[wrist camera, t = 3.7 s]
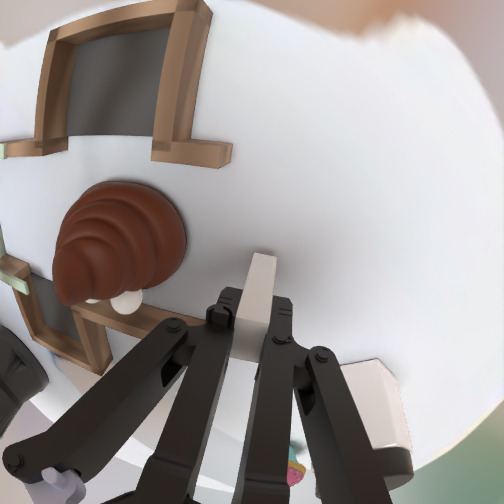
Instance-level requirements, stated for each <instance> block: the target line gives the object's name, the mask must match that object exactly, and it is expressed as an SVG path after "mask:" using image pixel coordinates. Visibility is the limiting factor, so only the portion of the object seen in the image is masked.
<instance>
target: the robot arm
mask: <svg viewBox="0 0 504 504" xmlns="http://www.w3.org/2000/svg"><path fill="white" fill-rule="evenodd" d="M276 263H277V257H275V256H270V255H265V254H260V253H255V252H254V255H253V258H252V262H251V265H250V269H249V272H248V276H247V279H246V283H245V286H244V290H241V289H236V288H232V287H226V288H225V289H223V290H222V291H221V293H220V296H219V298H218V301H217V303H216V304H215V305H212V306H210V307H208V309H207V310H206V323H205V324H203V325H199V326H188V325H187V323H186V321H184V320H183V319H181V318H177V317H170V318H166V319H164V320H163V321H161V322H160V323H159V324H158V325H157V326H156V327H155V328H154V329H153V330H152V331H151V332H150V333H149V334H147V335H146V336H145V337H144V338H143V339H142V340H141V341H140V342H139V343H138V344H137V345H136V346H135V347H134V348H133V349H132V350H130V351H129V352H128V353H127V354H126V355H125V356H124V357H123V358H122V359H121V360H120V361H119V362H118V363H117V364H116V365H115V366H114V367H113V368H112V369H110V370H109V371H108V372H107V373H106V374H105V375H104V376H103V377H102V378H101V379H100V380H99V381H98V382H97V383H96V384H95V385H94V386H93V387H92V388H90V389H89V390H88V391H87V392H86V393H85V394H84V395H83V396H82V397H81V398H80V399H79V400H78V401H77V402H76V403H75V404H74V405H73V406H72V407H71V408H70V409H69V410H68V411H67V412H66V413H64V414H63V415H62V416H61V417H60V418H59V419H58V420H57V421H56V422H55V423H54V424H53V425H52V426H51V427H50V428H49V429H48V430H47V431H45V432H43V433H41V434H38V435H36V436H33V437H30V438H28V439H25V440H23V441H20V442H17V443H14V444H12V445H9V446H8V447H6V449H5V450H4V452H3V457H2V460H3V464H4V466H5V468H6V470H7V471H8V472H9V473H10V474H11V475H12V476H14V477H16V478H18V479H19V480H21V481H22V482H23V483H24V485H25V487H26V489H27V491H28V493H29V495H30V497H31V498H32V500H33V502H34V504H78V503H79V502H80V501H82V500H83V499H84V497H85V495H86V488H85V485H84V483H86V482H88V481H89V480H91V479H92V478H93V477H95V476H96V475H97V474H98V473H99V472H100V471H101V470H102V469H103V468H104V467H105V466H106V465H107V463H108V462H109V461H110V460H111V459H112V457H113V456H114V455H115V454H116V453H117V452H118V450H119V449H120V448H121V447H122V446H123V445H124V443H125V442H126V441H127V440H128V439H129V437H130V436H131V435H132V434H133V433H134V432H135V430H136V429H137V428H138V427H139V426H140V424H141V423H142V422H143V421H144V419H145V418H146V417H147V416H148V415H149V413H150V412H151V411H152V410H153V409H154V407H155V406H156V405H157V403H159V401H160V400H161V399H162V398H163V396H164V395H165V394H166V393H167V391H168V390H169V389H170V388H171V387H172V385H173V384H174V383H175V382H176V380H177V379H178V378H179V377H180V375H181V374H182V373H183V372H184V370H185V369H186V368H187V366H188V368H187V370H186V373H185V375H184V378H183V380H182V383H181V385H180V388H179V390H178V393H177V395H176V398H175V400H174V403H173V406H172V408H171V411H170V413H169V416H168V418H167V421H166V424H165V426H164V429H163V431H162V434H161V437H160V439H159V442H158V444H157V447H156V450H155V452H154V453H153V455H151V456H150V457H149V458H148V460H147V462H146V464H145V466H144V469H143V471H142V474H141V477H140V479H139V482H138V484H137V487H136V490H135V491H130V492H127V493H124V494H122V495H120V496H118V497H115V498H113V499H111V500H109V501H106V502H104V503H101V504H201V503H199V502H196V501H194V500H193V496H194V492H195V487H196V482H197V478H198V474H199V471H200V467H201V463H202V460H203V456H204V452H205V448H206V445H207V441H208V437H209V434H210V430H211V426H212V423H213V419H214V415H215V411H216V408H217V404H218V400H219V396H220V393H221V389H222V385H223V381H224V377H225V374H226V370H227V366H228V360H229V357H232V358H237V359H241V360H246V361H251V362H256V363H259V365H258V368H257V372H256V375H255V379H254V380H255V384H254V390H253V396H252V402H251V408H250V413H249V419H248V424H247V430H246V435H245V441H244V446H243V452H242V457H241V462H240V467H239V472H238V477H237V483H236V487H235V492H234V495H233V498H232V503H231V504H289V498H290V487H289V484H288V483H287V471H288V459H289V447H290V433H291V416H292V397H293V390H294V394H295V398H296V402H297V406H298V410H299V414H300V417H301V421H302V425H303V429H304V433H305V437H306V441H307V445H308V449H309V453H310V457H311V461H312V465H313V469H314V473H315V477H316V481H317V485H318V489H319V493H320V497H321V501H322V504H393V503H392V501H391V498H390V495H389V492H388V489H387V486H386V483H385V480H384V478H383V475H382V472H381V469H380V467H379V464H378V461H377V458H376V456H375V453H374V450H373V448H372V445H371V442H370V440H369V437H368V435H367V432H366V430H365V427H364V424H363V422H362V419H361V417H360V414H359V412H358V409H357V407H356V404H355V402H354V399H353V397H352V394H351V392H350V390H349V387H348V385H347V382H346V380H345V377H344V375H343V373H342V370H341V368H340V366H339V363H338V361H337V359H336V356H335V354H334V353H333V352H332V351H331V350H330V349H329V348H326V347H324V346H315V347H313V348H311V349H310V350H309V349H306V348H304V347H302V346H300V345H299V344H297V343H296V342H295V341H294V338H293V336H292V306H293V304H292V303H291V301H290V299H289V298H284V297H279V296H274V295H273V289H274V281H275V272H276ZM48 383H49V380H48V377H47V375H46V373H45V371H44V370H43V368H42V367H41V365H40V364H39V362H38V361H37V360H36V358H35V357H34V356H33V355H32V353H31V352H30V351H29V350H28V349H27V348H26V346H25V345H24V344H23V343H22V342H21V341H20V340H19V339H18V338H17V337H16V336H15V335H14V334H13V333H12V332H10V331H9V330H8V329H6V328H4V327H0V439H1V438H2V437H3V434H4V432H5V431H6V429H7V428H8V426H9V425H10V423H11V421H12V420H13V418H14V417H15V415H16V414H17V412H18V411H19V409H20V408H21V406H22V405H23V403H24V402H26V401H27V400H29V399H30V398H32V397H33V396H34V395H36V394H37V393H38V392H41V391H43V390H44V389H45V388H46V386H47V385H48Z"/></svg>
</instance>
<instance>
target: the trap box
mask: <svg viewBox="0 0 504 504" xmlns="http://www.w3.org/2000/svg"><path fill="white" fill-rule="evenodd" d="M212 14H213V12H212V11H211V10H210V8H209V7H208V6H207V5H206V3H205V2H204V1H203V0H152V1H146V2H141V3H136V4H131V5H127V6H123V7H119V8H115V9H111V10H107V11H104V12H100V13H97V14H94V15H91V16H88V17H85V18H82V19H79V20H76V21H74V22H71V23H68V24H66V25H63V26H61V27H58V28H56V29H54V30H51V31H50V34H49V38H48V42H47V46H46V50H45V54H44V59H43V64H42V69H41V75H40V81H39V88H38V95H37V104H36V115H35V131H34V138H32V139H23V140H15V141H8V142H1V143H0V160H1V159H7V157H26V156H45V155H49V154H52V153H56V152H61V151H65V150H68V136H83V135H130V136H153V141H152V152H151V161H158V162H168V163H177V164H185V165H193V166H201V167H208V168H215V169H219V168H221V167H223V166H224V165H226V164H228V163H230V159H231V152H232V146H233V144H230V143H222V142H214V141H206V140H196V139H191V131H192V123H193V116H194V109H195V102H196V96H197V89H198V83H199V78H200V72H201V66H202V61H203V56H204V51H205V46H206V41H207V36H208V32H209V27H210V23H211V19H212ZM0 280H1V281H3V282H5V283H6V284H8V285H10V286H12V289H13V292H14V295H15V298H16V301H17V303H18V306H19V309H20V311H21V314H22V316H23V319H24V321H25V324H26V326H27V328H28V331H29V333H30V335H31V337H32V340H34V341H36V342H37V343H39V344H40V345H42V346H44V347H46V348H47V349H49V350H51V351H52V352H54V353H56V354H58V355H60V356H61V357H63V358H65V359H67V360H69V361H71V362H73V363H75V364H77V365H79V366H81V367H83V368H85V369H87V370H89V371H91V372H93V373H95V374H98V375H100V376H102V375H103V374H104V372H105V371H106V369H107V367H108V366H109V364H110V363H111V361H112V360H113V358H112V354H111V351H110V347H109V344H108V340H107V336H106V332H105V328H104V326H106V327H108V328H111V329H114V330H117V331H119V332H122V333H125V334H128V335H131V336H134V337H137V338H140V339H143V338H144V337H145V336H146V335H147V334H149V333H150V332H151V331H152V330H153V329H154V328H155V327H156V326H157V325H158V324H159V323H160V322H161V321H163V320H164V319H166V318H170V317H177V318H181V319H183V320H184V321H186V323H187V325H188V326H199V325H203V324H205V323H206V321H205V320H201V319H197V318H193V317H189V316H185V315H181V314H177V313H173V312H169V311H166V310H162V309H159V308H155V307H151V306H148V305H145V304H141V305H140V306H139V308H138V309H137V310H136V311H134V312H133V313H131V314H120V313H118V312H117V311H115V310H114V308H113V307H112V305H111V301H110V299H108V300H101V301H100V302H98V303H95V304H92V303H87V302H82V303H80V304H76V305H72V306H65V305H63V304H62V303H61V302H60V301H59V299H58V297H57V295H56V292H55V288H54V283H53V282H52V281H50V280H47V279H45V278H43V277H40V276H38V275H36V274H33V273H31V270H30V266H29V264H28V263H26V262H24V261H21V260H19V259H17V258H15V257H12V256H10V255H8V254H6V250H5V246H4V242H3V237H2V232H1V226H0Z"/></svg>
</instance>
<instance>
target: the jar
mask: <svg viewBox="0 0 504 504" xmlns="http://www.w3.org/2000/svg"><path fill="white" fill-rule="evenodd" d="M340 368H341V370H342V373H343V375H344V377H345V380H346V382H347V385H348V387H349V390H350V392H351V394H352V397H353V399H354V402H355V404H356V407H357V409H358V412H359V414H360V417H361V419H362V422H363V424H364V427H365V430H366V432H367V435H368V437H369V440H370V442H371V445H372V448H373V450H374V453H375V456H376V458H377V461H378V464H379V467H380V469H381V472H382V475H383V478H384V480H385V483H386V486H387V489H388V491H390V490H393V489H395V488H398V487H400V486H402V485H404V484H406V483H407V482H409V481H410V480H411V479H412V478H413V476H414V473H413V466H412V460H411V454H412V453H413V447H412V442H411V437H410V432H409V428H408V423H407V419H406V415H405V411H404V407H403V403H402V399H401V395H400V392H399V388H398V384H397V381H396V378H395V377H394V376H393V375H392V373H391V372H390V371H389V370H388V369H387V368H386V367H385V366H384V365H383V364H382V363H381V362H380V361H379V360H378V359H374V360H369V361H364V362H359V363H354V364H348V365H342V366H340ZM311 471H312V472H314V469H313V465H312V462H311ZM315 495H316V497H317V498H319V499H321V497H320V493H319V489H318V485H317V481H316V493H315Z"/></svg>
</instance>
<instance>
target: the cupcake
mask: <svg viewBox="0 0 504 504" xmlns="http://www.w3.org/2000/svg"><path fill="white" fill-rule="evenodd" d="M305 471H306V468H305V467H304V466H303V465H302V464H299V463H298V461H297V459H296V457H295V454H294V451H293V447H292V446H291V445H290V447H289V459H288V471H287V483H288V484H289V487H291V486H294V485H295V484H296V483H299V482H300V481H301V480H302V478H303V477H304V474H305Z"/></svg>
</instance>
